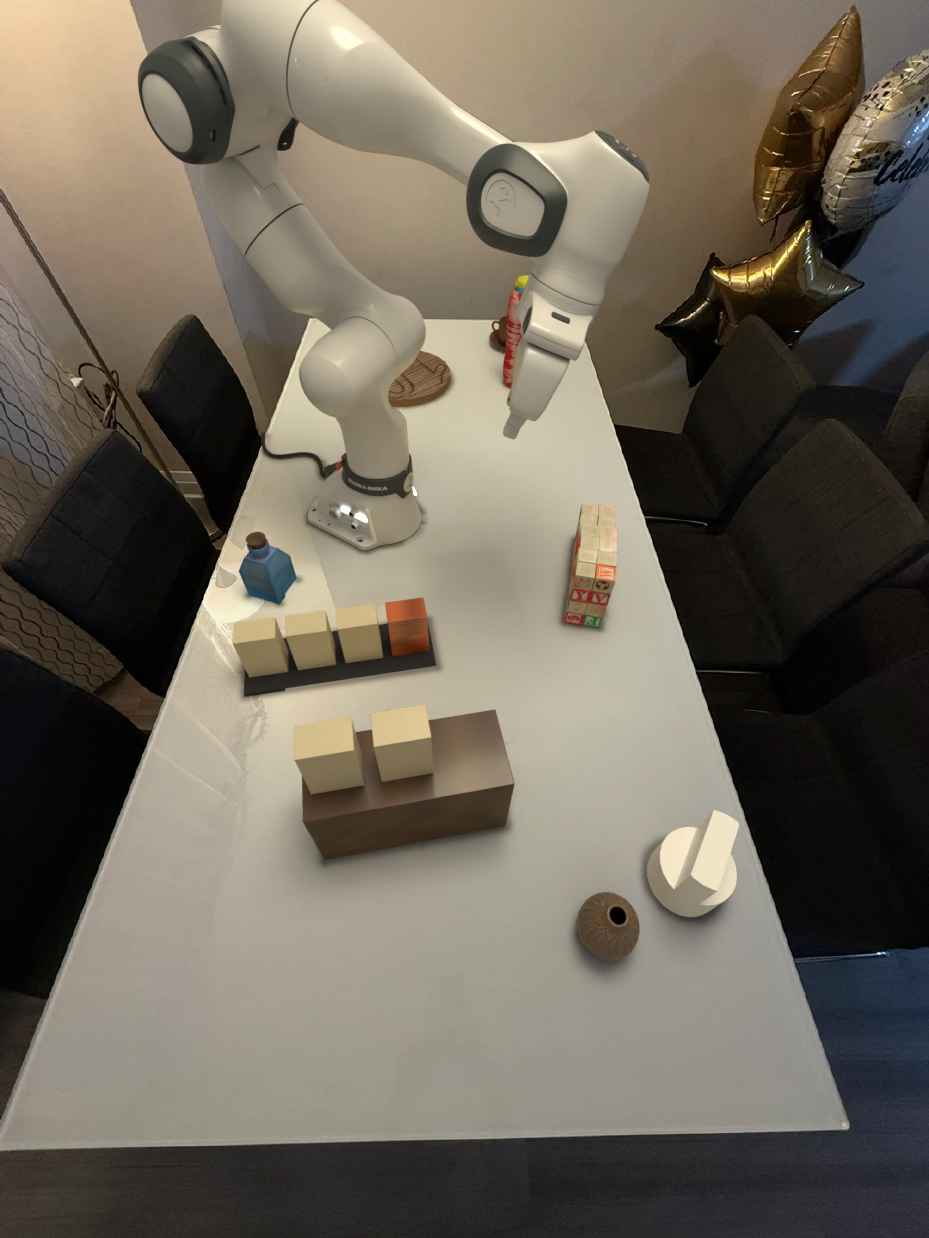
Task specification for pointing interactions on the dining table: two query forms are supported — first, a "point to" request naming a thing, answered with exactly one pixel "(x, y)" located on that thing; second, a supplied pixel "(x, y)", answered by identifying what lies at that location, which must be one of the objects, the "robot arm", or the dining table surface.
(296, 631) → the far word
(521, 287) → the water bottle
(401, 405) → the trivet
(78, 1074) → the dining table surface
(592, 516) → the stack of blocks
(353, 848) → the brown wooden block
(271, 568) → the perfume bottle
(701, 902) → the cylinder with rectangular tab
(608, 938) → the vase
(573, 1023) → the dining table surface
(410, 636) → the orange wooden block
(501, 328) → the cappuccino
